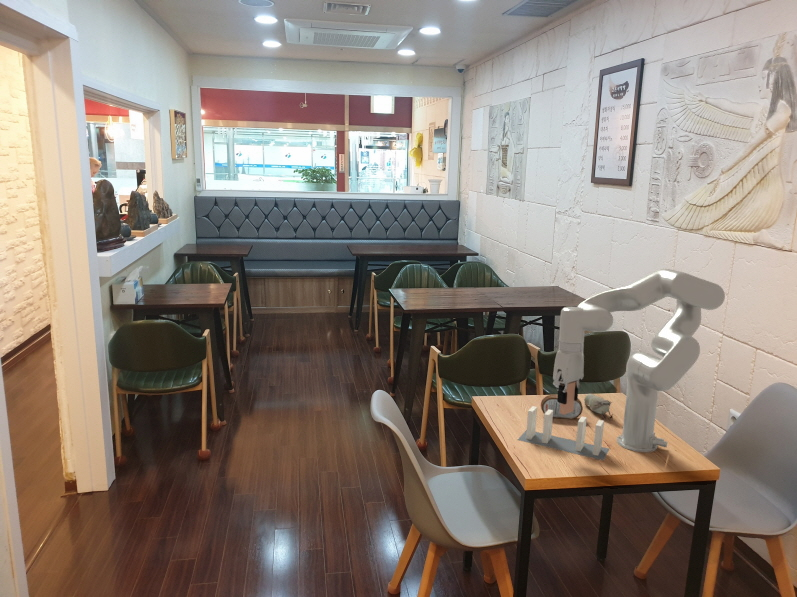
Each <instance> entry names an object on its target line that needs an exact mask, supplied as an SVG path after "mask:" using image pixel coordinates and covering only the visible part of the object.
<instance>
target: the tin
mask: <svg viewBox="0 0 797 597" xmlns="http://www.w3.org/2000/svg"><path fill="white" fill-rule="evenodd" d="M557 398H558V394H549V395H546V396H545V397H544V398H542V399H541V402H540V409H541V411H542V413H543V415H544V414H545V413H546V412H547V411H548V409H549V410H553V419H564V420H575V419H577V418H579V417H580V416H581V415H582V413H583V403H582V401H581V400H580V399H579V398H578V400H576V401H575V400H574V411H573V412H570V413H568V414H565V415H563V414H560V403H559V402H558V401H557Z"/></svg>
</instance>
